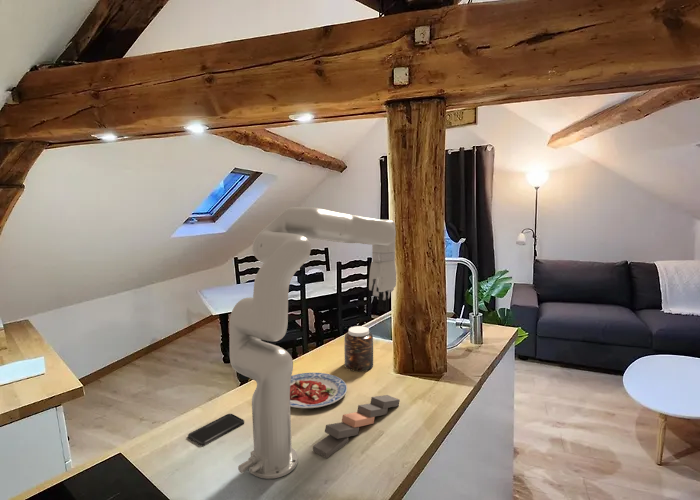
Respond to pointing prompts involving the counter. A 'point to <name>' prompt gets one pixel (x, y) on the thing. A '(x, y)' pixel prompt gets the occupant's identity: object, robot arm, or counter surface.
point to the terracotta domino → (357, 419)
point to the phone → (215, 429)
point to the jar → (358, 349)
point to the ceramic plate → (315, 390)
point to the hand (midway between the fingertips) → (383, 310)
